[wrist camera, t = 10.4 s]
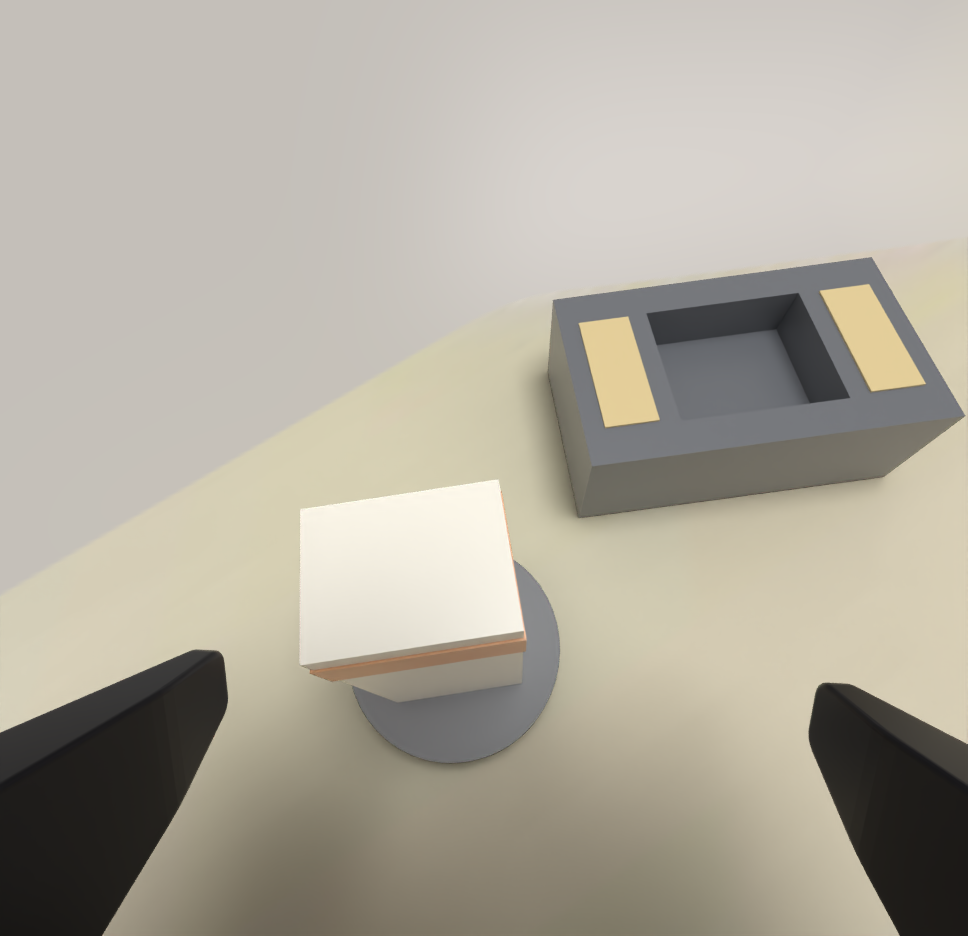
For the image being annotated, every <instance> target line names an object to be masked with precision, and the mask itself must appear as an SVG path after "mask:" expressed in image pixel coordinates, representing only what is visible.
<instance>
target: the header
mask: <svg viewBox="0 0 968 936" xmlns="http://www.w3.org/2000/svg"><path fill="white" fill-rule="evenodd" d="M548 375H549V380H550V385H551V389H552V394H553V399H554V404H555V408H556V413H557V418H558V422H559V427H560V432H561V437H562V441H563V446H564V451H565V455H566V460H567V465H568V470H569V474H570V479H571V484H572V489H573V493H574V498H575V503H576V507H577V512H578V517H579V518H583V517H590V516H598V515H605V514H612V513H620V512H627V511H634V510H642V509H649V508H657V507H664V506H671V505H679V504H686V503H693V502H701V501H708V500H716V499H723V498H730V497H738V496H745V495H752V494H760V493H767V492H775V491H782V490H789V489H797V488H804V487H811V486H819V485H826V484H833V483H841V482H848V481H856V480H863V479H870V478H878V477H884V476H886V475H887V474H888V473H890V472H891V471H892V470H894V469H895V468H896V467H898V466H899V465H900V464H902V463H903V462H904V461H906V460H907V459H908V458H910V457H911V456H912V455H914V454H915V453H916V452H918V451H919V450H920V449H922V448H923V447H924V446H926V445H927V444H928V443H930V442H931V441H932V440H934V439H935V438H936V437H938V436H939V435H940V434H942V433H943V432H945V431H946V430H947V429H949V428H950V427H951V426H953V425H954V424H955V423H957V422H958V421H959V420H961V419H962V418H963V417H965V415H964V413H963V411H962V410H961V408H960V406H959V404H958V403H957V401H956V399H955V398H954V396H953V394H952V393H951V391H950V389H949V388H948V386H947V384H946V382H945V381H944V379H943V377H942V376H941V374H940V372H939V371H938V369H937V367H936V366H935V364H934V362H933V360H932V359H931V357H930V355H929V354H928V352H927V350H926V349H925V347H924V345H923V344H922V342H921V340H920V338H919V337H918V335H917V333H916V332H915V330H914V328H913V327H912V325H911V323H910V322H909V320H908V318H907V316H906V315H905V313H904V311H903V310H902V308H901V306H900V305H899V303H898V301H897V300H896V298H895V296H894V294H893V293H892V291H891V289H890V288H889V286H888V284H887V283H886V281H885V279H884V278H883V276H882V274H881V272H880V271H879V269H878V267H877V266H876V264H875V262H874V261H873V259H872V257H870V258H863V259H856V260H848V261H841V262H833V263H826V264H818V265H811V266H803V267H796V268H788V269H781V270H773V271H766V272H758V273H751V274H744V275H736V276H729V277H721V278H714V279H706V280H699V281H691V282H684V283H676V284H669V285H661V286H654V287H647V288H639V289H632V290H624V291H617V292H609V293H602V294H594V295H587V296H579V297H572V298H564V299H557V300H553V309H552V322H551V335H550V349H549V362H548Z"/></svg>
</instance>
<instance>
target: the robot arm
mask: <svg viewBox="0 0 968 936" xmlns="http://www.w3.org/2000/svg"><path fill="white" fill-rule="evenodd" d="M227 703H228V692H227V683H226V673H225V664H224V658H223V656H222V654H221V653H220V652H219V651H215V650H192V651H189V652H187V653H184V654H182V655H180V656H177V657H175V658H173V659H170V660H168V661H166V662H163V663H161V664H159V665H157V666H154V667H152V668H150V669H147V670H145V671H143V672H140V673H138V674H136V675H133V676H131V677H129V678H126V679H124V680H122V681H119V682H117V683H115V684H112V685H110V686H108V687H105V688H103V689H101V690H98V691H96V692H94V693H91V694H89V695H87V696H84V697H82V698H80V699H78V700H75V701H73V702H71V703H68V704H66V705H64V706H61V707H59V708H57V709H54V710H52V711H50V712H47V713H45V714H43V715H40V716H38V717H36V718H33V719H31V720H29V721H26V722H24V723H22V724H19V725H17V726H15V727H12V728H10V729H8V730H5V731H3V732H1V733H0V936H102V935H103V933H104V931H105V930H106V928H107V926H108V925H109V923H110V922H111V920H112V918H113V917H114V915H115V913H116V912H117V910H118V908H119V907H120V905H121V903H122V902H123V900H124V898H125V897H126V895H127V893H128V892H129V890H130V889H131V887H132V885H133V884H134V882H135V880H136V879H137V877H138V875H139V874H140V872H141V870H142V869H143V867H144V865H145V864H146V862H147V860H148V859H149V857H150V855H151V854H152V852H153V851H154V849H155V847H156V846H157V844H158V842H159V841H160V839H161V837H162V836H163V834H164V832H165V831H166V829H167V827H168V826H169V824H170V822H171V821H172V819H173V817H174V815H175V814H176V812H177V810H178V808H179V807H180V805H181V803H182V801H183V799H184V797H185V795H186V793H187V791H188V789H189V787H190V785H191V783H192V781H193V779H194V777H195V774H196V772H197V770H198V768H199V766H200V764H201V762H202V760H203V758H204V756H205V754H206V752H207V750H208V748H209V745H210V743H211V741H212V739H213V737H214V735H215V733H216V731H217V729H218V727H219V725H220V723H221V721H222V719H223V716H224V714H225V711H226V708H227ZM809 742H810V746H811V749H812V752H813V754H814V757H815V759H816V761H817V764H818V766H819V768H820V771H821V773H822V775H823V778H824V780H825V782H826V785H827V787H828V790H829V792H830V794H831V797H832V799H833V801H834V804H835V806H836V808H837V811H838V813H839V815H840V818H841V820H842V822H843V825H844V827H845V830H846V832H847V834H848V837H849V839H850V841H851V843H852V845H853V848H854V850H855V852H856V854H857V856H858V858H859V860H860V862H861V864H862V866H863V868H864V870H865V872H866V874H867V876H868V877H869V879H870V881H871V883H872V885H873V887H874V889H875V890H876V892H877V894H878V896H879V898H880V900H881V902H882V903H883V905H884V907H885V909H886V911H887V913H888V915H889V916H890V918H891V920H892V922H893V924H894V926H895V928H896V929H897V931H898V933H899V935H900V936H968V744H966V743H964V742H962V741H960V740H958V739H956V738H954V737H952V736H951V735H949V734H947V733H945V732H943V731H941V730H939V729H937V728H935V727H933V726H931V725H929V724H927V723H925V722H923V721H921V720H919V719H918V718H916V717H914V716H912V715H910V714H908V713H906V712H904V711H902V710H900V709H898V708H896V707H894V706H892V705H890V704H888V703H887V702H885V701H883V700H881V699H879V698H877V697H875V696H873V695H871V694H869V693H867V692H865V691H863V690H861V689H859V688H857V687H856V686H853V685H850V684H842V683H822V684H821V685H819V686H818V688H817V690H816V693H815V698H814V704H813V709H812V715H811V720H810V726H809Z"/></svg>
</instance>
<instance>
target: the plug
mask: <svg viewBox="0 0 968 936" xmlns="http://www.w3.org/2000/svg"><path fill="white" fill-rule="evenodd" d="M526 644H527V638H526V632H525V627H524V621H523V615H522V609H521V603H520V597H519V591H518V585H517V579H516V573H515V567H514V562H513V556H512V550H511V544H510V538H509V532H508V526H507V520H506V514H505V508H504V502H503V497H502V491H500V485H499V480H498V479H497V480H491V481H484V482H477V483H471V484H464V485H458V486H451V487H444V488H438V489H431V490H424V491H418V492H411V493H405V494H398V495H391V496H385V497H378V498H372V499H365V500H358V501H352V502H345V503H339V504H332V505H325V506H319V507H312V508H306V509H300V666H302V667H305V668H308V669H310V674H312V675H315V676H318V677H321V678H324V679H326V680H329V681H342V682H344V683H347V684H350V685H352V686H355V687H358V688H360V689H363V690H366V691H368V692H371V693H373V694H376V695H379V696H381V697H384V698H387V699H389V700H392V701H395V702H397V703H399V702H405V701H412V700H418V699H425V698H431V697H437V696H444V695H450V694H457V693H463V692H470V691H476V690H482V689H489V688H495V687H502V686H508V685H514V684H521V683H522V670H523V652H526Z"/></svg>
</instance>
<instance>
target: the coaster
mask: <svg viewBox="0 0 968 936" xmlns="http://www.w3.org/2000/svg"><path fill="white" fill-rule="evenodd" d="M513 562H514V567H515V573H516V579H517V585H518V591H519V597H520V603H521V609H522V615H523V621H524V627H525V632H526V638H527V644H526V652H523V670H522V683H521V684H514V685H508V686H502V687H495V688H489V689H482V690H476V691H470V692H463V693H457V694H450V695H444V696H437V697H431V698H425V699H418V700H412V701H405V702H399V703H397V702H395V701H392V700H389V699H387V698H384V697H381V696H379V695H376V694H373V693H371V692H368V691H366V690H363V689H360V688H358V687H355V686H352V687H353V691H354V694H355V696H356V699H357V701H358V703H359V706H360V708H361V709H362V711H363V713H364V714H365V716H366V718H367V719H368V721H369V722H370V723H371V724H372V726H373V727H374V728H375V729H376V731H378V732H379V733H380V734H381V735H382V736H383V737H384V738H385V739H386V740H387V741H388V742H390V743H391V744H393V745H394V746H396V747H397V748H398V749H400V750H402V751H404V752H406V753H408V754H410V755H412V756H415V757H418V758H421V759H424V760H428V761H434V762H440V763H460V762H467V761H473V760H477V759H480V758H484V757H488V756H490V755H492V754H495V753H497V752H499V751H501V750H503V749H504V748H506V747H508V746H509V745H511V744H512V743H514V742H515V741H516V740H517V739H519V738H520V737H521V736H522V735H523V734H524V733H525V732H526V731H527V730H528V729H529V728H530V727H531V726H532V725H533V724H534V722H535V721H536V719H537V718H538V716H539V715H540V713H541V712H542V710H543V709H544V707H545V705H546V703H547V701H548V699H549V697H550V695H551V692H552V689H553V687H554V684H555V681H556V676H557V672H558V667H559V656H560V643H559V633H558V627H557V622H556V619H555V615H554V612H553V609H552V607H551V605H550V602H549V600H548V598H547V596H546V595H545V593H544V591H543V590H542V588H541V586H540V585H539V584H538V583H537V581H536V580H535V579H534V578H533V576H532V575H531V574H530V573H529V572H528V571H527V570H526V569H525V568H524V567H522V566H521V565H520V564H519V563H517V562H516V561H514V560H513Z"/></svg>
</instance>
